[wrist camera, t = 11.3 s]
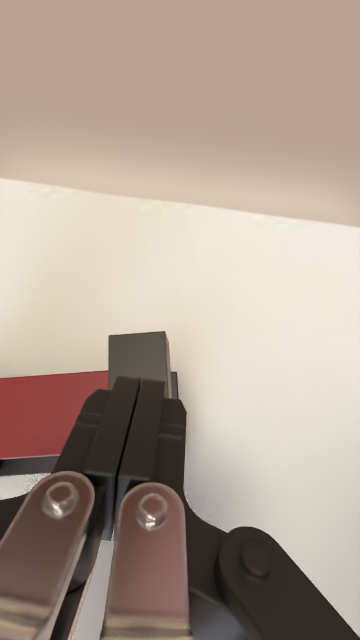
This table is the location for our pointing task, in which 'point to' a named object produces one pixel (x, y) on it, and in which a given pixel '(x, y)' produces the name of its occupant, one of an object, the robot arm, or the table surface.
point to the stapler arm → (72, 395)
